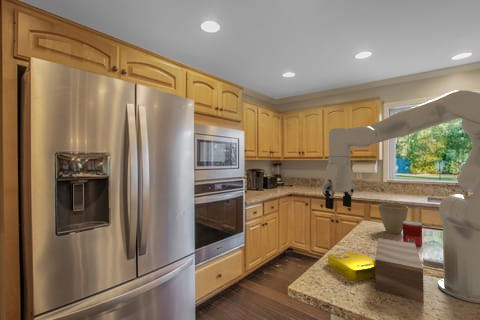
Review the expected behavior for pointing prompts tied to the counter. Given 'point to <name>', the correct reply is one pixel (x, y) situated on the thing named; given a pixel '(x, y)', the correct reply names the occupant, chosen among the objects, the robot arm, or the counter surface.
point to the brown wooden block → (399, 269)
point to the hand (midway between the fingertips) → (338, 207)
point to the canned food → (412, 232)
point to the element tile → (352, 265)
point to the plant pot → (393, 217)
